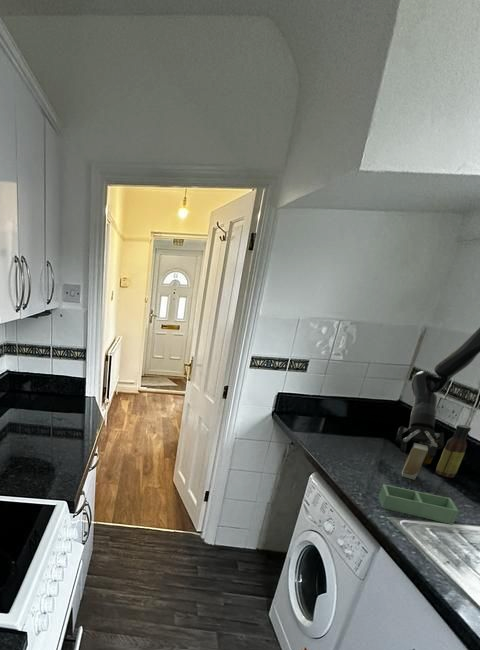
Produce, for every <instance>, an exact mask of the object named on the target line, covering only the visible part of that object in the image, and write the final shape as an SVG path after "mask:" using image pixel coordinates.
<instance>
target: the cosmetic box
mask: <svg viewBox="0 0 480 650" xmlns="http://www.w3.org/2000/svg"><path fill="white" fill-rule="evenodd" d="M427 452H428V446H426V445H422V444H420V443H416V442H413V445H412V447H411V449H410V452H409V453H408V456H407V458H408V459H406V461H405V463H404V466H403V468H402V470H401V477H402V478H406V479H410V480H413V481H414V480H416V479H417V476H418V474H419V472H420V470H421V468H422V465H423V461H424V458H425V456H426V454H427Z"/></svg>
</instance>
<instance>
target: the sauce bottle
mask: <svg viewBox="0 0 480 650" xmlns="http://www.w3.org/2000/svg"><path fill="white" fill-rule="evenodd" d="M455 428H456V429H455V432H454V434H453V436H452V437H451V438H448V440H446V441H447V442H446V444H445V445H444V448H443V451H442V453H441V455H440V458H439V461H438V463H437V465H436V468H435V474H437V475H439V476H441V477H444V478H449V479H452V478H454V477H455V476H456V474H457V473H458V470H459V468H460V466H461V464H462V461H463V458H464V457H465V453H466V450H467V448H468V443H467V438H468V435H469V433H470V431H471V430H472V427H471V426H469V425H465V424H457V425H456V426H455Z"/></svg>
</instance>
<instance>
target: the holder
mask: <svg viewBox="0 0 480 650" xmlns="http://www.w3.org/2000/svg"><path fill="white" fill-rule="evenodd" d="M378 497H379V502H380V507H381V509H384V510H387V511H388V510H389V511H393V512H397V513H401V514H406V515H410V516H414V517H418V518H423V519H426V520H432V521H435V522H436V521H437V522H439V523H440V522H441V523H445V524H450V525H454V523H455V520H456V519H457V516H458V514H459V512H460V511H459V509H458V508H457V506H456V504H455V502H454V501H453V499H452V498H451V497H448V496H447V497H446V496H442V495H438V494H437V495H436V494H432V493H428V492H422V491H417V490H413V489H408V488H403V487H398V486H395V485H390V484H384V483H383V484H382V486H381V489H380V492H379V493H378Z"/></svg>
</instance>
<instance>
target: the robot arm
mask: <svg viewBox="0 0 480 650" xmlns="http://www.w3.org/2000/svg"><path fill="white" fill-rule="evenodd" d="M479 354H480V326H479V327H478V328H477V329H476V330H475V331H474V332H473V333H472V334H471V335H470V336H469V337H468V338H467V339H466V340H465V341H464V342H463V343H461V345H459V346H458V347H457V348H456V349H454V350H453V351H451V353H450V354H448V355H446V356H445V357H444V358H443V359H441V360H440V361H438V362H437V363H436V364H435V366H434V367H433V371H434V373H433V372H429V371H427V370H420V371H417V372H416V373H415V374H414V375H413V376H412V379H411V381H410V387H411V391H412V397H413V404H412V409H411V412H410V415H409V417H410V419H409V424H408V428H407V427H405V426H404V425H401V426H400V427H399V428H398V430H397V433H396V437H395V442H396V443H400V448H399V451H400V452H401V453H402V454H405V453H406V452H407V445H408V443H409V442H410V441H413V442H419V443H420V442H425V443H426V444H427V445H428V446H429V447H430V448H431V449H430V453H429V458H432V457H433V458H434V457H435V456H436V455H437V450H441V449H442V448H443V447H445V433H444V432H443V431H441V432H435V423H436V417H437V403H438V396H437V394H436V393H439V392H441V391H442V390H443V389H444V388H445V386H446V385H447V384H448V383H449V381H450V380H451V379H452V378H453V377H454V376H455V375H457V374H458V373H460V372H461V371H463V370H464V369H465V368H467V367H468V366H470V365H471V363H472V362H473V361H475V359H476V357H477V356H478V355H479ZM405 433H407V436H406V437H404V438H403V435H404V434H405ZM433 436H435V437H436V439H437V444H436V443H435V441H434V439H433V438H432V437H433ZM436 449H437V450H436Z"/></svg>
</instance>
